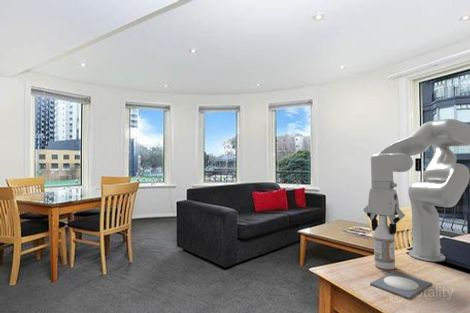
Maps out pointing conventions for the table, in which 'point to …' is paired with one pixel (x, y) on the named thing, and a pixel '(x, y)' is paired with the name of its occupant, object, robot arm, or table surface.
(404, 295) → the rubber mat
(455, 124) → the robot arm
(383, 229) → the bath foam
